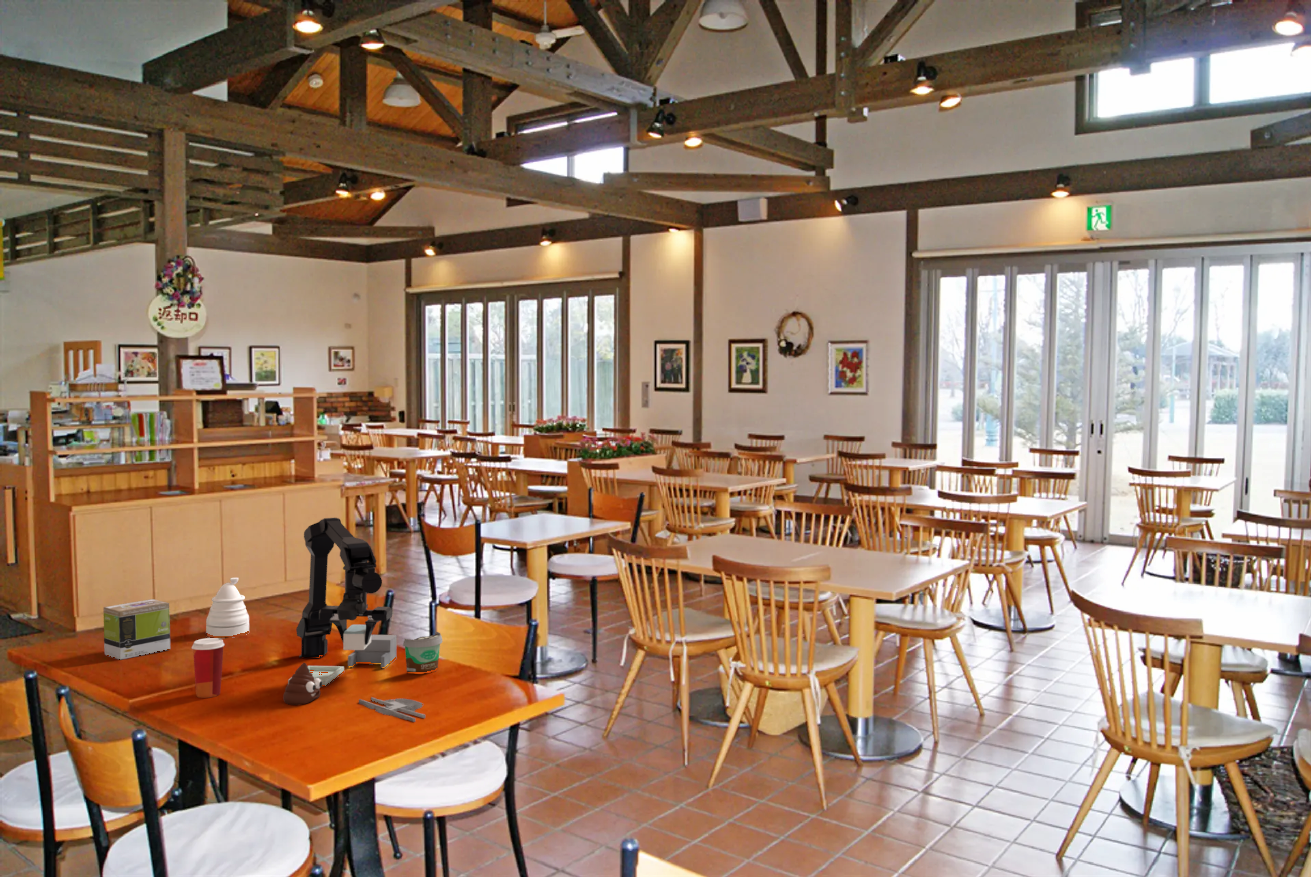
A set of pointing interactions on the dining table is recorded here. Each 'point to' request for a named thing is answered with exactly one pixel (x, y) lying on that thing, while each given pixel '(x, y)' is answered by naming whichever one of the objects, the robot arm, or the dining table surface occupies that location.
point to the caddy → (355, 638)
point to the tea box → (136, 628)
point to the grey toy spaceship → (395, 707)
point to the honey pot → (227, 612)
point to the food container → (422, 653)
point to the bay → (376, 651)
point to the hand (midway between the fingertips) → (355, 644)
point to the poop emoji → (302, 687)
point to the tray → (325, 677)
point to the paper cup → (208, 666)
